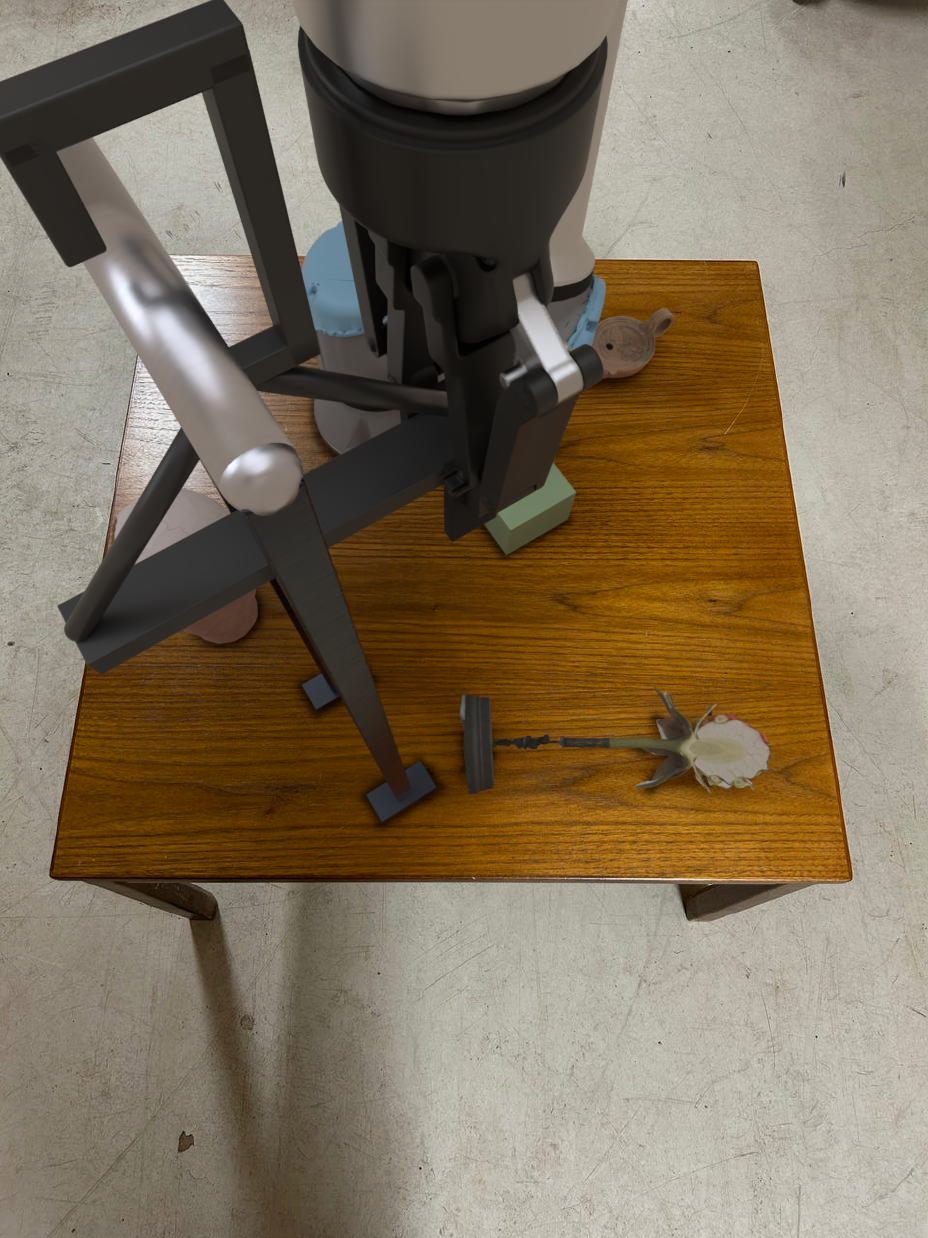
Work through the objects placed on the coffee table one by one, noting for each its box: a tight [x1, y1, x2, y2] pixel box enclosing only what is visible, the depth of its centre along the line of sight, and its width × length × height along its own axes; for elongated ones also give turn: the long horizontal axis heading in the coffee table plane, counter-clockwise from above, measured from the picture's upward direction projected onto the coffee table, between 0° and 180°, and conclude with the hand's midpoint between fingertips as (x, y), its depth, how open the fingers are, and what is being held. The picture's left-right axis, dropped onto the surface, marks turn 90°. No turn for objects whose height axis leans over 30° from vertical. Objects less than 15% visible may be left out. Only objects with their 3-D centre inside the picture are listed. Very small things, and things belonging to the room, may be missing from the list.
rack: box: [57, 137, 438, 824], centre depth 47 cm, size 16×6×60 cm, turn 33°
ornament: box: [459, 685, 775, 795], centre depth 71 cm, size 28×10×9 cm, turn 91°
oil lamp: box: [592, 307, 675, 380], centre depth 89 cm, size 13×8×5 cm, turn 118°
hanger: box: [0, 0, 454, 675], centre depth 25 cm, size 20×3×20 cm, turn 123°
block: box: [483, 462, 577, 556], centre depth 81 cm, size 6×8×6 cm
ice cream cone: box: [110, 488, 259, 645], centre depth 70 cm, size 11×11×20 cm
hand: (450, 496), depth 40 cm, fingers closed on hanger, 3 cm apart
